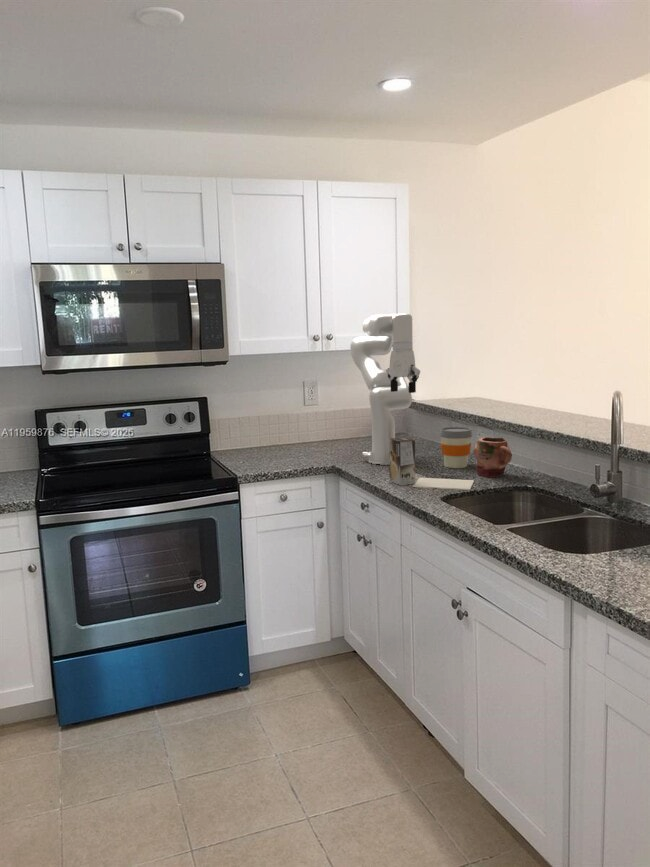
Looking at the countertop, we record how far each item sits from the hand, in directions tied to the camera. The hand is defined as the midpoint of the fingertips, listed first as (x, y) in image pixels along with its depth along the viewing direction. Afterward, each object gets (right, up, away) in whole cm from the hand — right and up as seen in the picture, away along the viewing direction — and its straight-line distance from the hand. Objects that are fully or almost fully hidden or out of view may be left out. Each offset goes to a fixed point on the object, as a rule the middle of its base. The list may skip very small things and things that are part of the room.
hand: (403, 392), depth 271 cm
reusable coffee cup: (+23, -29, +16) cm, 40 cm away
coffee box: (-2, -34, -11) cm, 36 cm away
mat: (+13, -34, -16) cm, 40 cm away
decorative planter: (+34, -32, -3) cm, 47 cm away
